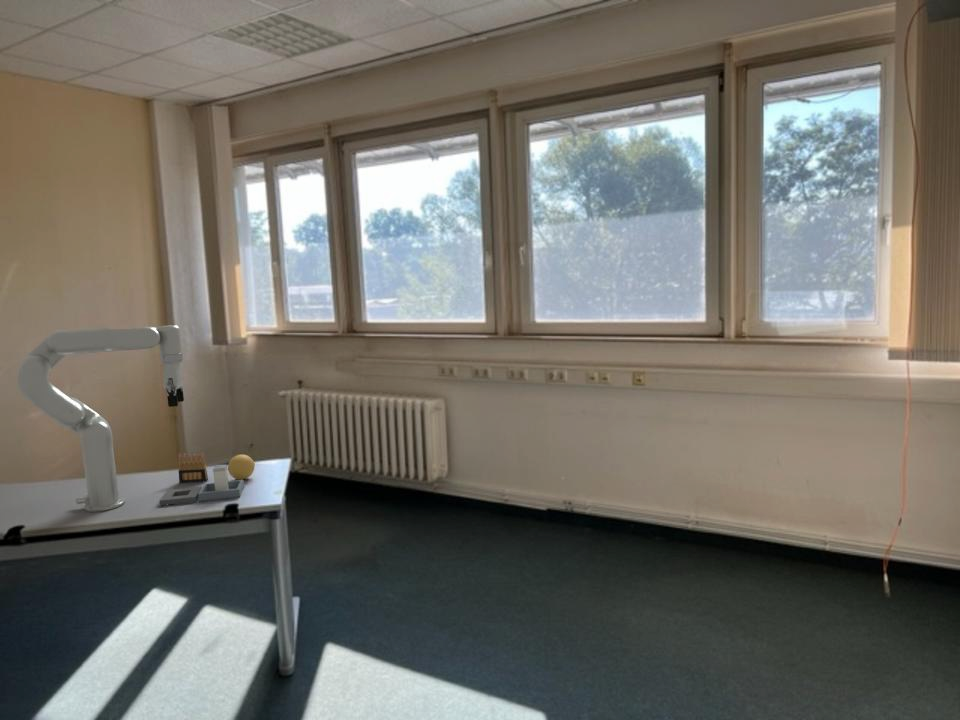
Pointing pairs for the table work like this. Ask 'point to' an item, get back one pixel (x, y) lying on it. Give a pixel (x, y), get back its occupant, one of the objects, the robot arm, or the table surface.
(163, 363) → the robot arm
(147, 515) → the table surface
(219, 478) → the fuse
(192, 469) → the ammunition clip
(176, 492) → the frame
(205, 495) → the parts tray
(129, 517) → the table surface
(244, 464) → the stress ball
